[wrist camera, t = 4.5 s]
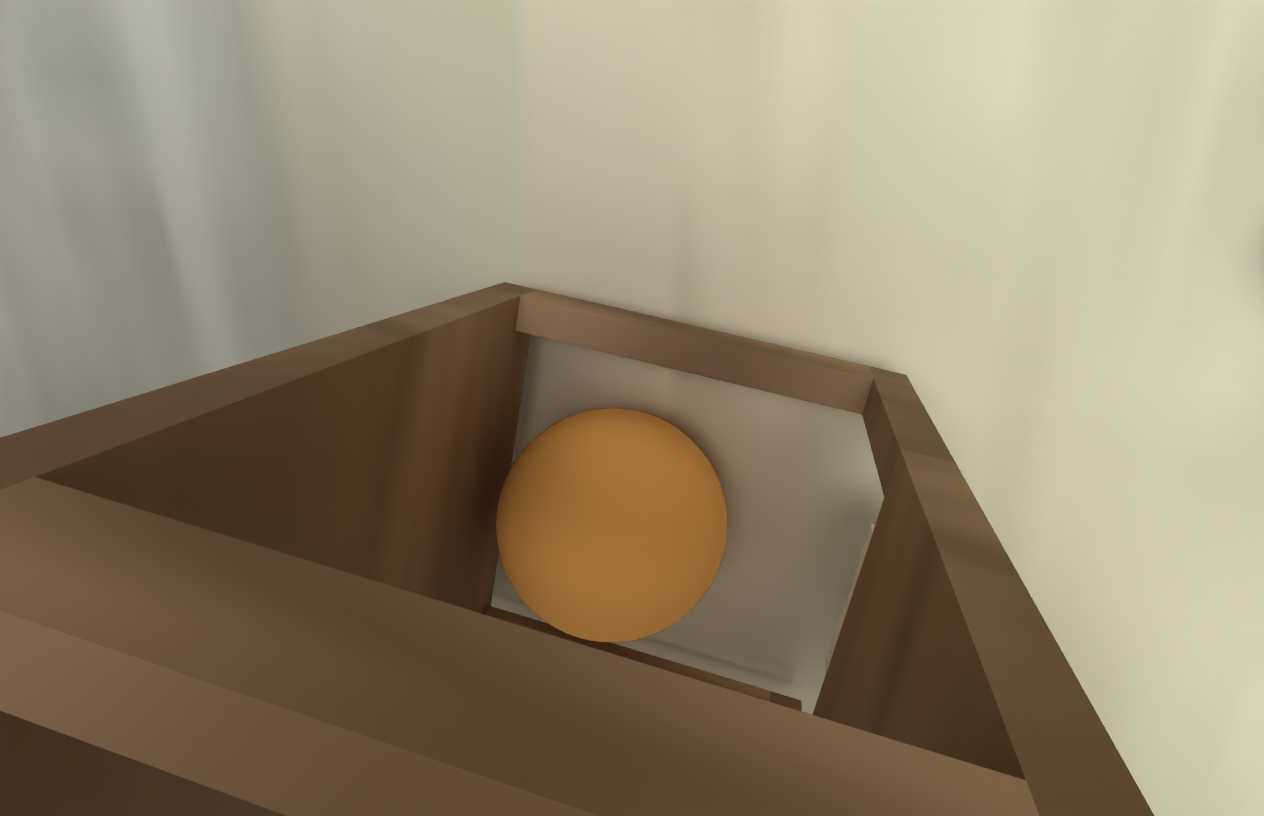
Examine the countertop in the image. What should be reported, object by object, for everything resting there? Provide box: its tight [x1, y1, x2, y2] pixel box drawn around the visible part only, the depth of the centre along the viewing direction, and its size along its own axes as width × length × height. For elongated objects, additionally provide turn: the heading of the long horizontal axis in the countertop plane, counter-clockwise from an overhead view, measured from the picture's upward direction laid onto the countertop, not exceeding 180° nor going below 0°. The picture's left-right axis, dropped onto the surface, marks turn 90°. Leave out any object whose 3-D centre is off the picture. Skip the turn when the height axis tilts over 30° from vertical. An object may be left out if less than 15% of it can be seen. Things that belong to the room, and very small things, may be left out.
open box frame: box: [0, 282, 1154, 816], centre depth 9 cm, size 7×7×10 cm
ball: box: [496, 408, 727, 642], centre depth 13 cm, size 4×4×4 cm
